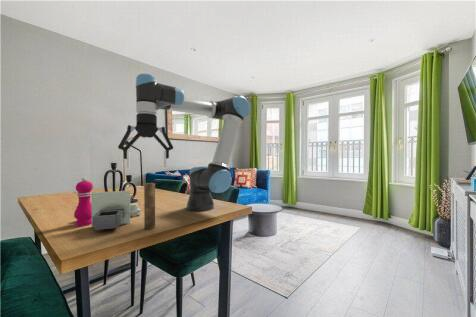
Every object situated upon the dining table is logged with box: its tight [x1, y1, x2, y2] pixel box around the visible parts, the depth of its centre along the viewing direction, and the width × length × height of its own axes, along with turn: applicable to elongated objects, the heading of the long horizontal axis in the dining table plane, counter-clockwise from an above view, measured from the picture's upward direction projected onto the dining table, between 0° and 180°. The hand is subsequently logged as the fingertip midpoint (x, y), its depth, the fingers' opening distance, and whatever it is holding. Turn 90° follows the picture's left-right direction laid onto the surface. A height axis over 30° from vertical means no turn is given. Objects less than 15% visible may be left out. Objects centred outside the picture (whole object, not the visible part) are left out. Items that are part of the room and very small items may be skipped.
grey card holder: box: [90, 190, 131, 231], centre depth 85 cm, size 14×12×14 cm
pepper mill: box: [73, 176, 94, 227], centre depth 91 cm, size 7×7×20 cm
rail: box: [143, 182, 156, 231], centre depth 86 cm, size 4×4×18 cm
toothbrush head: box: [130, 202, 142, 218], centre depth 100 cm, size 5×7×25 cm
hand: (147, 167), depth 86 cm, fingers open, 13 cm apart
